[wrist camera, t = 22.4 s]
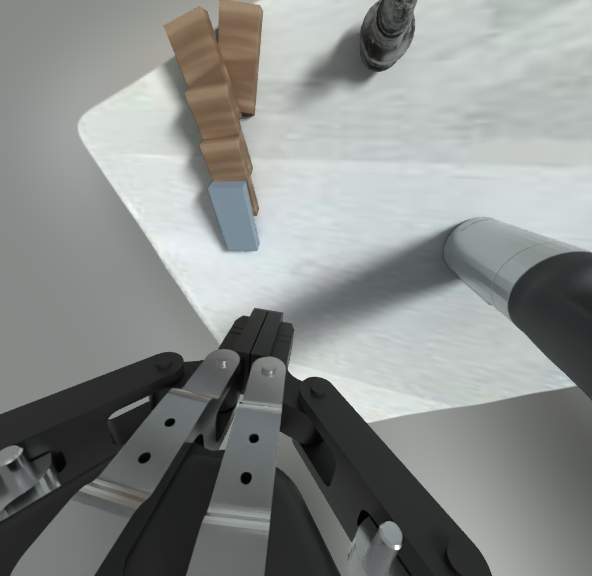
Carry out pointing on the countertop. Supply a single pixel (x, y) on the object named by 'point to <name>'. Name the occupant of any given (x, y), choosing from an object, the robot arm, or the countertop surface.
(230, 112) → the domino
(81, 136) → the countertop surface
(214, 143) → the domino
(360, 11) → the countertop surface
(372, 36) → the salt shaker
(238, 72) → the domino
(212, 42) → the domino
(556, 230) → the countertop surface
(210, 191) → the blue domino
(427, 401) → the countertop surface
